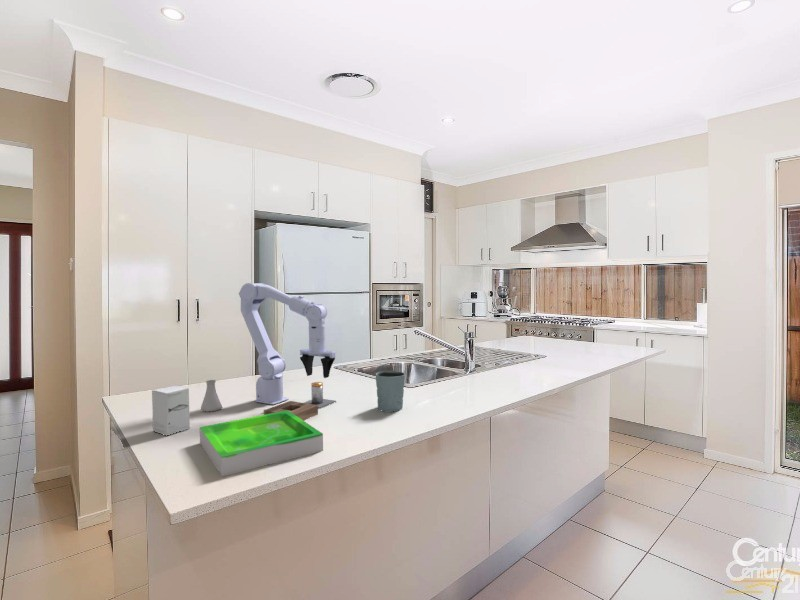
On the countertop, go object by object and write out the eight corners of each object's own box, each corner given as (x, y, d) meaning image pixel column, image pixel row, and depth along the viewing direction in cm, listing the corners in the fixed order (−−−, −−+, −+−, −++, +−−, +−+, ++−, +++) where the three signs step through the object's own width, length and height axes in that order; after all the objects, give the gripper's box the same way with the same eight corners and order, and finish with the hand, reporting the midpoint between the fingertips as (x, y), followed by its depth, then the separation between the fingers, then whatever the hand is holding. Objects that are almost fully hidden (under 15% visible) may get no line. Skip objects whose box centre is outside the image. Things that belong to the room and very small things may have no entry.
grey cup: (370, 408, 149) (369, 373, 149) (390, 402, 156) (390, 369, 156) (391, 414, 142) (390, 378, 142) (411, 407, 150) (411, 373, 149)
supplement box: (166, 436, 124) (165, 393, 123) (152, 432, 128) (150, 389, 127) (190, 429, 130) (189, 387, 129) (176, 425, 134) (175, 384, 133)
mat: (300, 405, 154) (300, 404, 154) (316, 398, 162) (316, 397, 162) (320, 408, 150) (320, 407, 149) (336, 401, 157) (336, 400, 157)
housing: (264, 419, 138) (263, 410, 138) (290, 409, 149) (290, 400, 149) (292, 425, 132) (292, 415, 132) (317, 414, 143) (317, 405, 143)
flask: (226, 408, 150) (225, 380, 150) (205, 413, 145) (204, 384, 145) (217, 405, 155) (216, 377, 155) (196, 409, 150) (195, 381, 149)
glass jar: (309, 403, 154) (309, 383, 154) (316, 400, 158) (316, 381, 158) (318, 404, 152) (318, 385, 152) (325, 402, 156) (325, 382, 156)
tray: (200, 445, 119) (199, 427, 118) (288, 426, 133) (287, 410, 133) (222, 478, 98) (221, 457, 98) (323, 452, 113) (322, 433, 112)
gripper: (293, 338, 154) (294, 376, 155) (326, 341, 148) (326, 380, 148) (307, 336, 161) (307, 372, 161) (338, 338, 154) (339, 376, 154)
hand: (317, 376), depth 155 cm, fingers open, 7 cm apart
